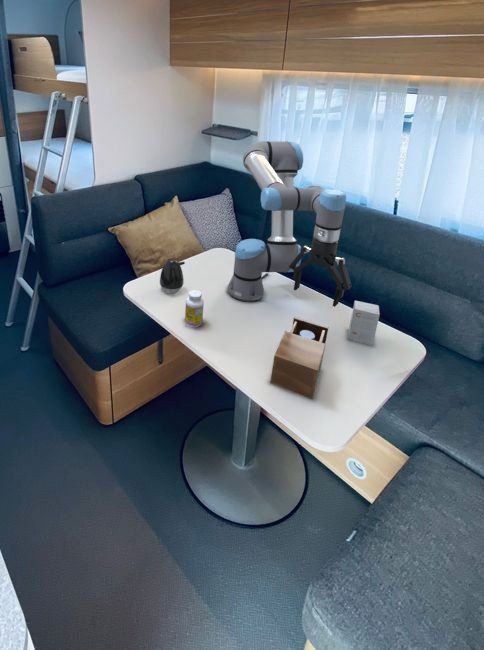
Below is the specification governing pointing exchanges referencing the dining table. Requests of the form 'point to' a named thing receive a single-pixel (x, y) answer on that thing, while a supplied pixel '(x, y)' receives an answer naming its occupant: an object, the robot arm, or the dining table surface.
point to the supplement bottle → (194, 309)
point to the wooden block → (297, 364)
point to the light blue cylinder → (307, 334)
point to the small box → (363, 322)
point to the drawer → (310, 329)
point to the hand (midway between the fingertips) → (315, 296)
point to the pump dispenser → (171, 276)
